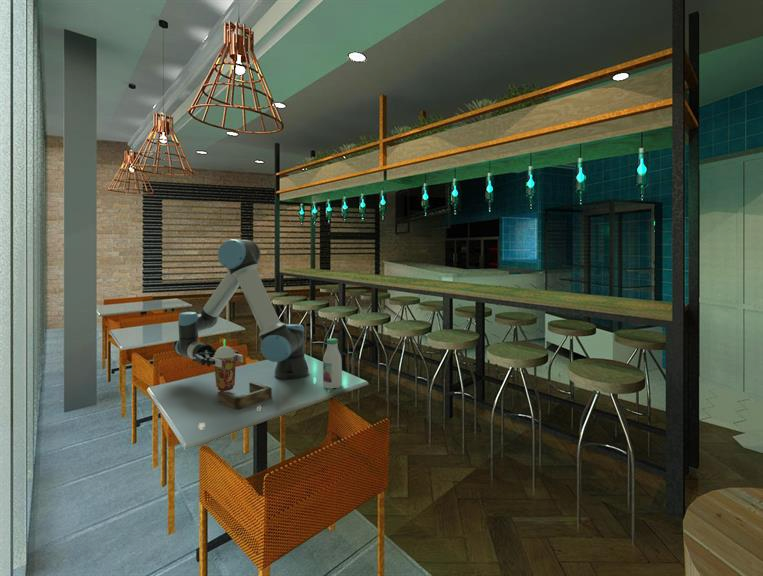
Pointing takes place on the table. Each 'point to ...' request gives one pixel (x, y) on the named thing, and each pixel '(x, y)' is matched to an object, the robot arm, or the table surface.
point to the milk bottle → (332, 365)
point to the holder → (246, 396)
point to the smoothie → (225, 368)
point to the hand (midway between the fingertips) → (231, 361)
